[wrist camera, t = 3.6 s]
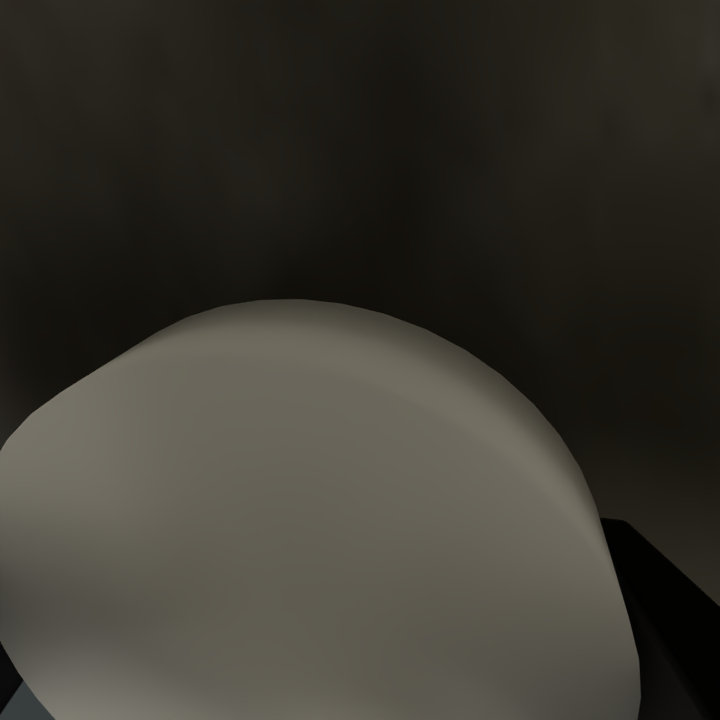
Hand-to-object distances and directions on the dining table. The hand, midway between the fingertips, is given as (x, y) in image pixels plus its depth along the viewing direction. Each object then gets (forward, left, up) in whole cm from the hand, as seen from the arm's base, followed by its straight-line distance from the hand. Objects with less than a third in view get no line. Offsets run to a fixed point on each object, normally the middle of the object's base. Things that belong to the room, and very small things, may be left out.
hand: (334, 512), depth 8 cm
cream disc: (0, 0, +1) cm, 1 cm away
